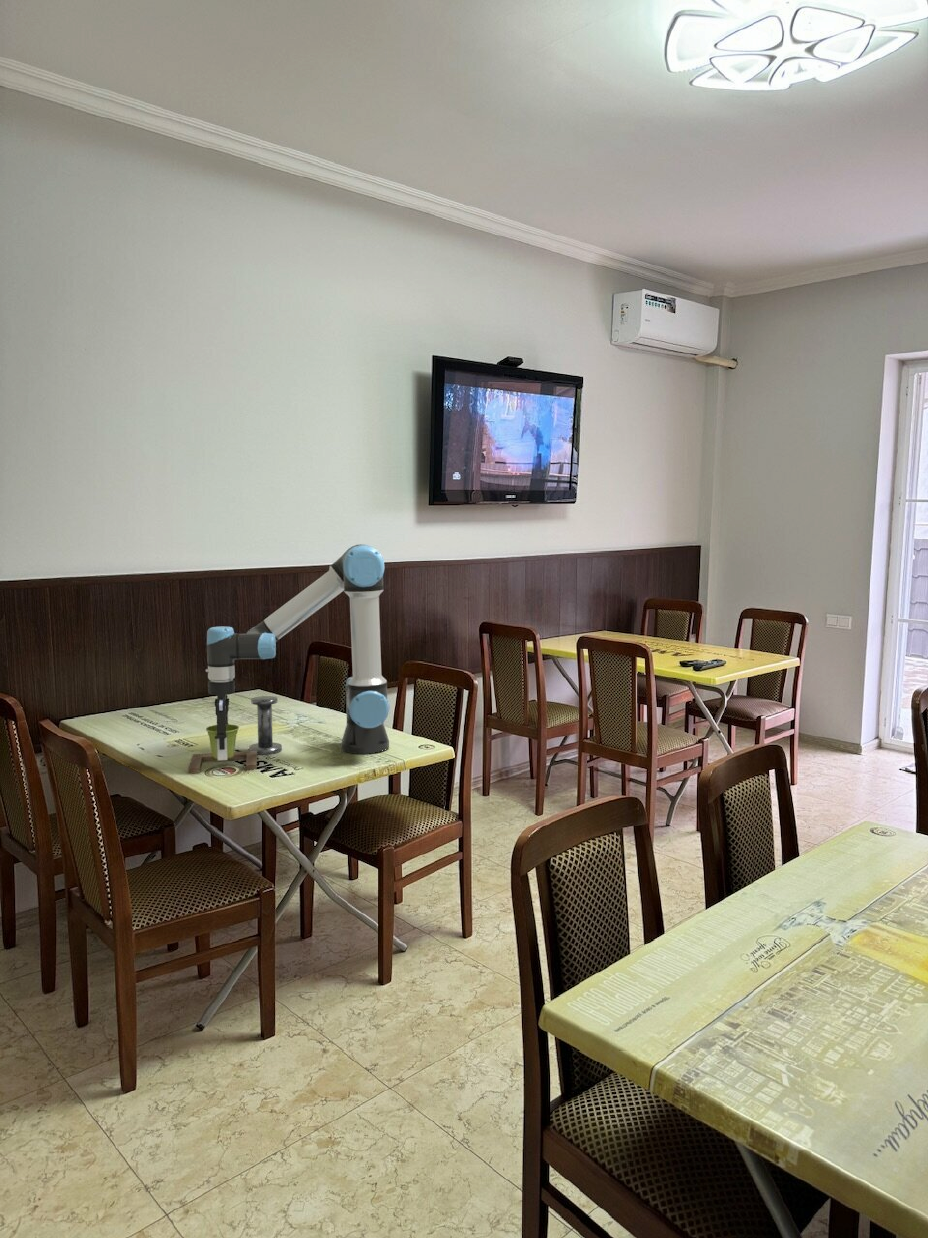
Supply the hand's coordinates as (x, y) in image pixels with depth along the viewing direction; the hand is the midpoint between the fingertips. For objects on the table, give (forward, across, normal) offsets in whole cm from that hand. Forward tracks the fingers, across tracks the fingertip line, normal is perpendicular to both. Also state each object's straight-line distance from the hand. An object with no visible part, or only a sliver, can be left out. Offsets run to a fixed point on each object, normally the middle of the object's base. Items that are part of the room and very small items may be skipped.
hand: (223, 755), depth 261 cm
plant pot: (+1, 0, 0) cm, 1 cm away
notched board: (+3, -2, 0) cm, 4 cm away
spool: (+3, -15, +12) cm, 19 cm away
